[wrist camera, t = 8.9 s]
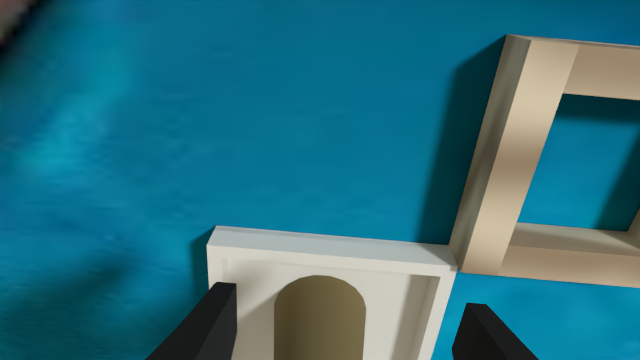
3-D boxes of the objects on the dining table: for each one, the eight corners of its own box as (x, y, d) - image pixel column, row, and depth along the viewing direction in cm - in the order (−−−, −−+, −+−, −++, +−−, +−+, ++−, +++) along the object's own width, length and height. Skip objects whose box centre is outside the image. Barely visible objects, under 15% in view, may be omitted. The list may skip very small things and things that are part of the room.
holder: (645, 262, 23) (678, 291, 21) (448, 245, 23) (460, 272, 21) (760, 57, 18) (821, 66, 16) (506, 34, 18) (531, 40, 16)
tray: (406, 396, 29) (411, 422, 28) (222, 381, 29) (215, 406, 28) (448, 245, 23) (458, 266, 22) (216, 225, 23) (206, 244, 21)
